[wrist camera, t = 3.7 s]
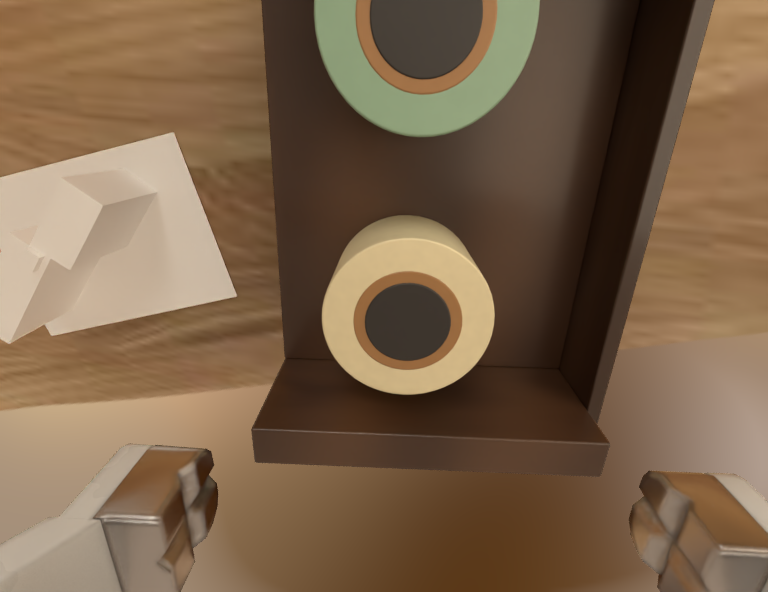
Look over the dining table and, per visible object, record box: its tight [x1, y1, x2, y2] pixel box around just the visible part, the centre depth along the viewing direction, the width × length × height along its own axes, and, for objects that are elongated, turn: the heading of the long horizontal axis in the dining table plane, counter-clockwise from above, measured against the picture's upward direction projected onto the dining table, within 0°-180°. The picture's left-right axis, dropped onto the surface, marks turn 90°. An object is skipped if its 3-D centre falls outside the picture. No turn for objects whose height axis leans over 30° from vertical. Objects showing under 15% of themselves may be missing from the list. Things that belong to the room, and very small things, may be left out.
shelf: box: [252, 0, 715, 477], centre depth 19 cm, size 14×20×15 cm
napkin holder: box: [0, 132, 237, 344], centre depth 25 cm, size 15×11×6 cm
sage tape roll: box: [314, 0, 540, 137], centre depth 13 cm, size 6×6×4 cm
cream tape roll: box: [322, 215, 495, 395], centre depth 16 cm, size 6×6×4 cm
